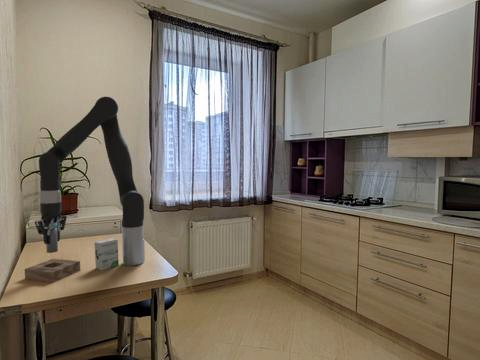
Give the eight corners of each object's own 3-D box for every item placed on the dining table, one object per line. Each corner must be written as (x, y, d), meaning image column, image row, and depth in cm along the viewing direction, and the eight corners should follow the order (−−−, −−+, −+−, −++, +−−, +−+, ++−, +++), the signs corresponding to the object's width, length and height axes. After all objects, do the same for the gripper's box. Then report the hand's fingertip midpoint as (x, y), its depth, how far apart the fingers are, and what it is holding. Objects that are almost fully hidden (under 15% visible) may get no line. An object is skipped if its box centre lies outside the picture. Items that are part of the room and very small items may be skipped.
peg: (52, 249, 134) (51, 221, 133) (60, 250, 133) (59, 222, 132) (43, 252, 130) (42, 223, 129) (52, 253, 129) (51, 223, 128)
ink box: (113, 263, 146) (112, 237, 145) (119, 265, 143) (118, 239, 142) (94, 268, 139) (93, 241, 139) (100, 270, 136) (99, 243, 136)
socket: (54, 267, 140) (53, 258, 140) (80, 270, 137) (80, 261, 136) (25, 278, 127) (24, 269, 127) (53, 282, 123) (52, 272, 123)
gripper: (43, 203, 122) (44, 248, 123) (72, 199, 136) (73, 239, 137) (27, 203, 124) (29, 246, 125) (57, 198, 138) (58, 238, 139)
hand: (52, 242), depth 131 cm, fingers closed on peg, 4 cm apart
